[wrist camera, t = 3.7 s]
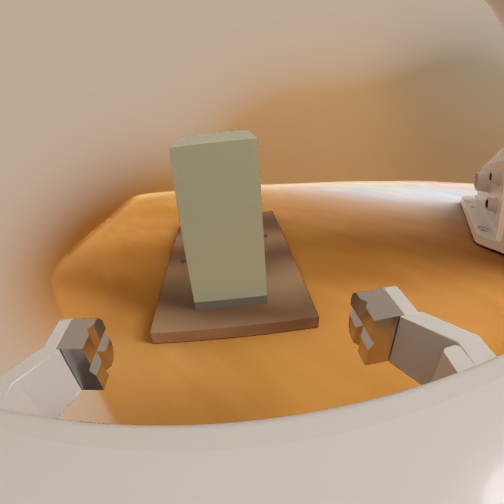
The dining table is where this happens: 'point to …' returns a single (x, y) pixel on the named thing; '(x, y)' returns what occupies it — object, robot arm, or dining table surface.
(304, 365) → the dining table surface
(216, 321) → the board
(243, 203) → the green block
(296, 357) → the dining table surface
